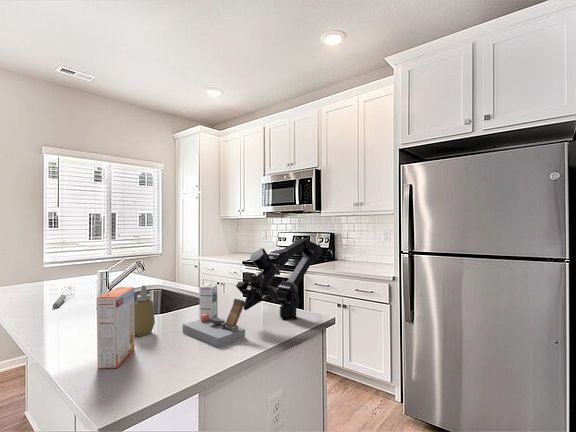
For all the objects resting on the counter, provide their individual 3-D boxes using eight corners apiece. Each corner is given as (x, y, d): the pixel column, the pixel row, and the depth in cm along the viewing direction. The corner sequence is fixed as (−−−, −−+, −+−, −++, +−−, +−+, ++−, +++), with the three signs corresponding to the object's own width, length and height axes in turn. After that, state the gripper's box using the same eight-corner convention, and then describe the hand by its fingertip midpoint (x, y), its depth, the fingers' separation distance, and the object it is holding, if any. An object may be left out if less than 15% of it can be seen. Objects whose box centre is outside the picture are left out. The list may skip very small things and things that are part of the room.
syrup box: (212, 321, 140) (212, 286, 140) (199, 320, 141) (199, 286, 141) (217, 317, 146) (217, 284, 146) (205, 316, 147) (205, 283, 147)
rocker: (218, 322, 129) (219, 319, 130) (224, 324, 127) (224, 321, 127) (207, 321, 126) (208, 318, 126) (213, 323, 123) (214, 320, 124)
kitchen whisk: (46, 310, 155) (46, 297, 155) (63, 295, 186) (63, 283, 186) (62, 309, 157) (62, 296, 157) (76, 294, 189) (76, 283, 189)
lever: (226, 328, 123) (238, 300, 127) (234, 331, 120) (246, 302, 124) (222, 327, 122) (234, 298, 126) (230, 330, 119) (242, 300, 123)
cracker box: (116, 350, 109) (116, 286, 110) (135, 349, 110) (135, 286, 110) (95, 369, 96) (95, 296, 96) (117, 369, 96) (117, 296, 96)
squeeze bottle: (131, 338, 120) (132, 288, 120) (130, 331, 127) (131, 284, 127) (156, 335, 123) (156, 286, 123) (153, 328, 131) (154, 282, 131)
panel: (208, 324, 136) (208, 312, 136) (245, 337, 122) (245, 324, 122) (182, 332, 127) (182, 319, 127) (218, 347, 112) (218, 333, 112)
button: (205, 319, 133) (205, 313, 133) (210, 320, 131) (210, 314, 131) (199, 321, 131) (199, 314, 131) (203, 322, 129) (203, 316, 129)
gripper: (239, 261, 137) (217, 293, 129) (272, 266, 125) (250, 301, 116) (253, 278, 143) (233, 309, 134) (286, 284, 131) (266, 319, 122)
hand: (244, 309), depth 127 cm, fingers closed
